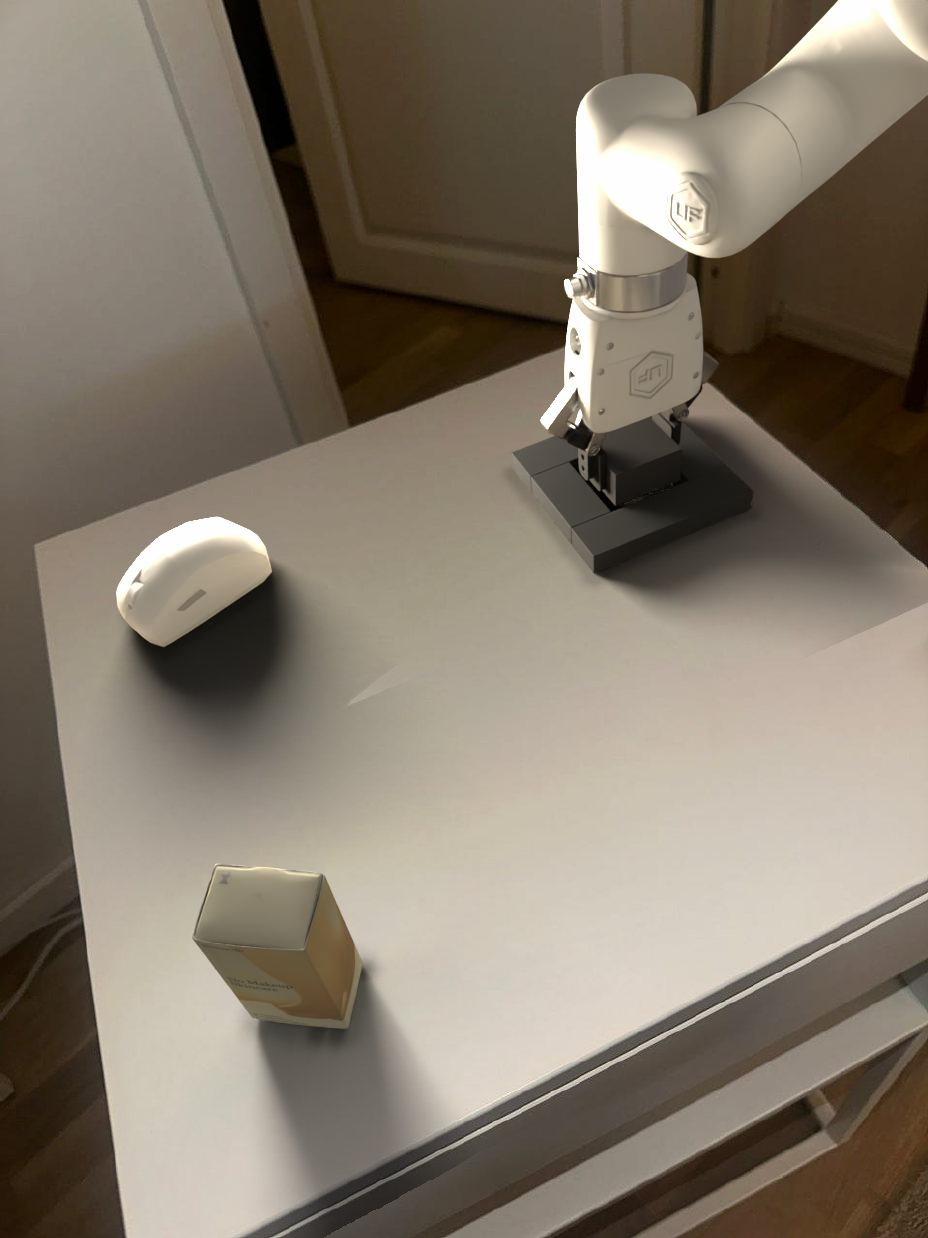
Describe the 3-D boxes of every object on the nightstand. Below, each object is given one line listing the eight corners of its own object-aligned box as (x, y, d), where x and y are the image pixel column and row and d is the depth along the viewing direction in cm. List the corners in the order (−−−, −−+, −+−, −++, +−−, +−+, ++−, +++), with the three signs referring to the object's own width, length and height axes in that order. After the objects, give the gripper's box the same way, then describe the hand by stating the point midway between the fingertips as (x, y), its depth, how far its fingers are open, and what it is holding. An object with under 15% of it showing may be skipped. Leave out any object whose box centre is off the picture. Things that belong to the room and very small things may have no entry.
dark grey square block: (641, 440, 85) (642, 409, 82) (680, 480, 81) (682, 448, 78) (579, 464, 84) (578, 433, 81) (615, 506, 80) (615, 475, 77)
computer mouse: (117, 616, 81) (86, 565, 76) (244, 534, 86) (223, 481, 81) (155, 657, 77) (126, 606, 72) (285, 569, 82) (266, 516, 77)
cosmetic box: (250, 1020, 57) (182, 940, 48) (269, 949, 60) (208, 860, 51) (354, 1032, 56) (304, 952, 47) (368, 959, 59) (325, 870, 50)
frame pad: (656, 413, 90) (657, 396, 88) (751, 508, 81) (754, 490, 79) (512, 469, 87) (511, 452, 86) (594, 574, 78) (593, 556, 76)
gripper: (549, 336, 64) (560, 529, 78) (767, 257, 68) (741, 455, 81) (501, 287, 69) (519, 477, 83) (707, 215, 72) (692, 409, 86)
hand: (629, 465), depth 82 cm, fingers closed on dark grey square block, 6 cm apart
